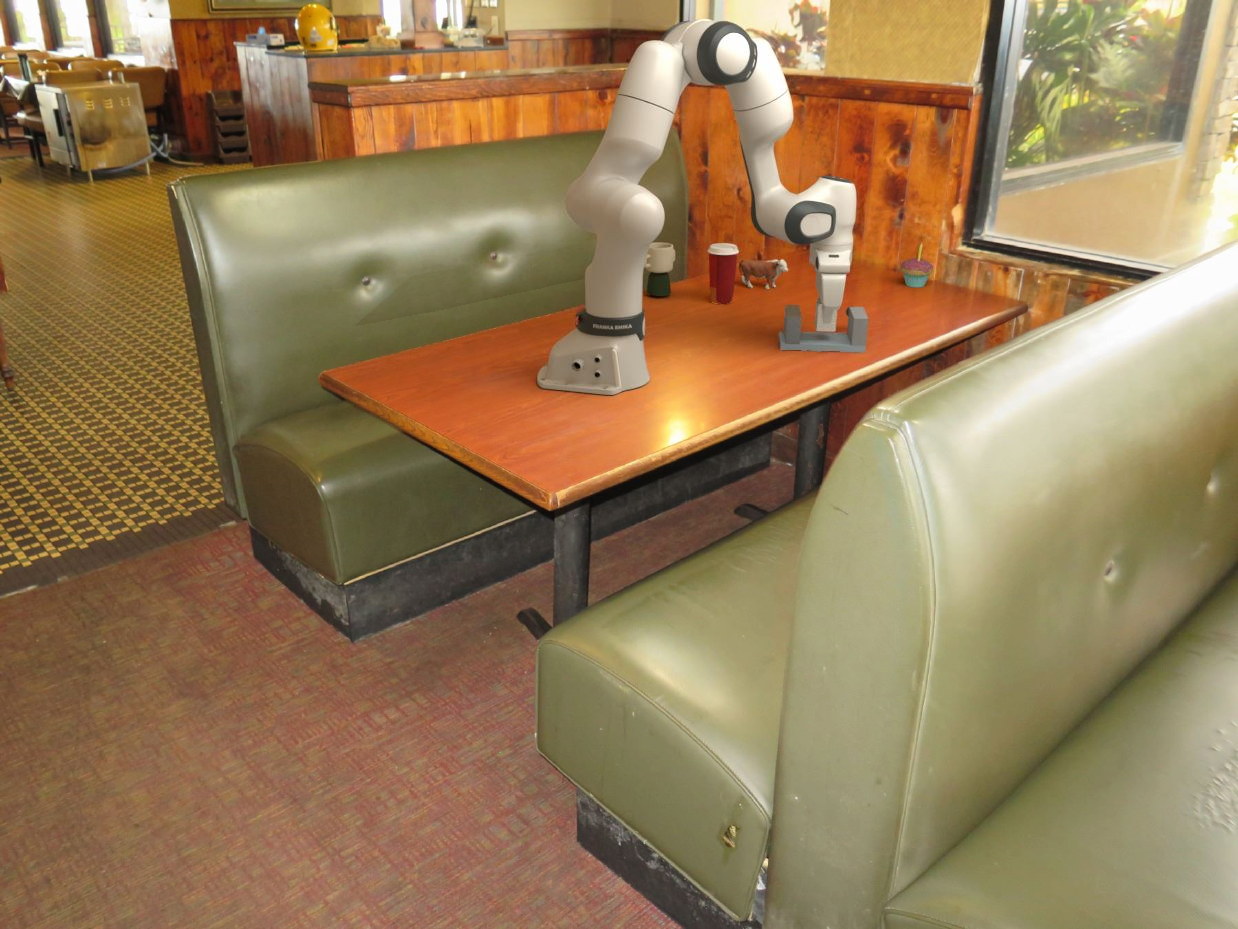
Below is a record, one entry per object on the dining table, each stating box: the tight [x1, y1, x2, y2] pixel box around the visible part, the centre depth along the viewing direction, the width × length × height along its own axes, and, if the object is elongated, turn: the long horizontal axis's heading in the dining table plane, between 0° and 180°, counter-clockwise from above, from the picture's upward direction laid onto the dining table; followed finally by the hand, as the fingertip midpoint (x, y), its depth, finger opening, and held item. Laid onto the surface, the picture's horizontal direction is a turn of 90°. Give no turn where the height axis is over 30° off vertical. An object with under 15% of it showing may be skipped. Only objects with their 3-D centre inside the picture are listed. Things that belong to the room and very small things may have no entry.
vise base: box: [778, 305, 869, 354], centre depth 222 cm, size 18×17×8 cm
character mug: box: [644, 241, 676, 298], centre depth 254 cm, size 11×7×13 cm, turn 131°
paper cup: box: [707, 242, 740, 305], centre depth 249 cm, size 8×8×14 cm
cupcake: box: [899, 241, 934, 288], centre depth 263 cm, size 9×8×12 cm
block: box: [814, 297, 838, 333], centre depth 217 cm, size 4×5×6 cm
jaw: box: [783, 304, 803, 344], centre depth 218 cm, size 3×9×6 cm, turn 174°
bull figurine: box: [738, 258, 789, 290], centre depth 262 cm, size 4×13×8 cm, turn 65°
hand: (825, 318), depth 217 cm, fingers closed on block, 5 cm apart
